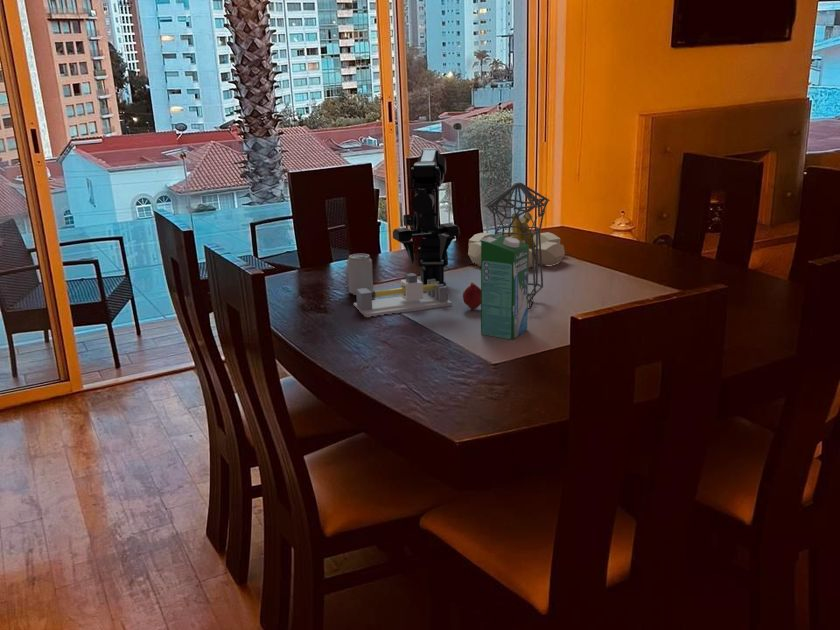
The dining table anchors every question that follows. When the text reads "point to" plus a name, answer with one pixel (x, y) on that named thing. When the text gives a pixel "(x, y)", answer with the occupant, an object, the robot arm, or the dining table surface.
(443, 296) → the linear slider
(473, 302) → the onion
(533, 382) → the dining table surface
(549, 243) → the campfire
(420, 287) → the sleeve
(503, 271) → the milk carton
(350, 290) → the can
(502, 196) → the geometric lantern
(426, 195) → the robot arm
